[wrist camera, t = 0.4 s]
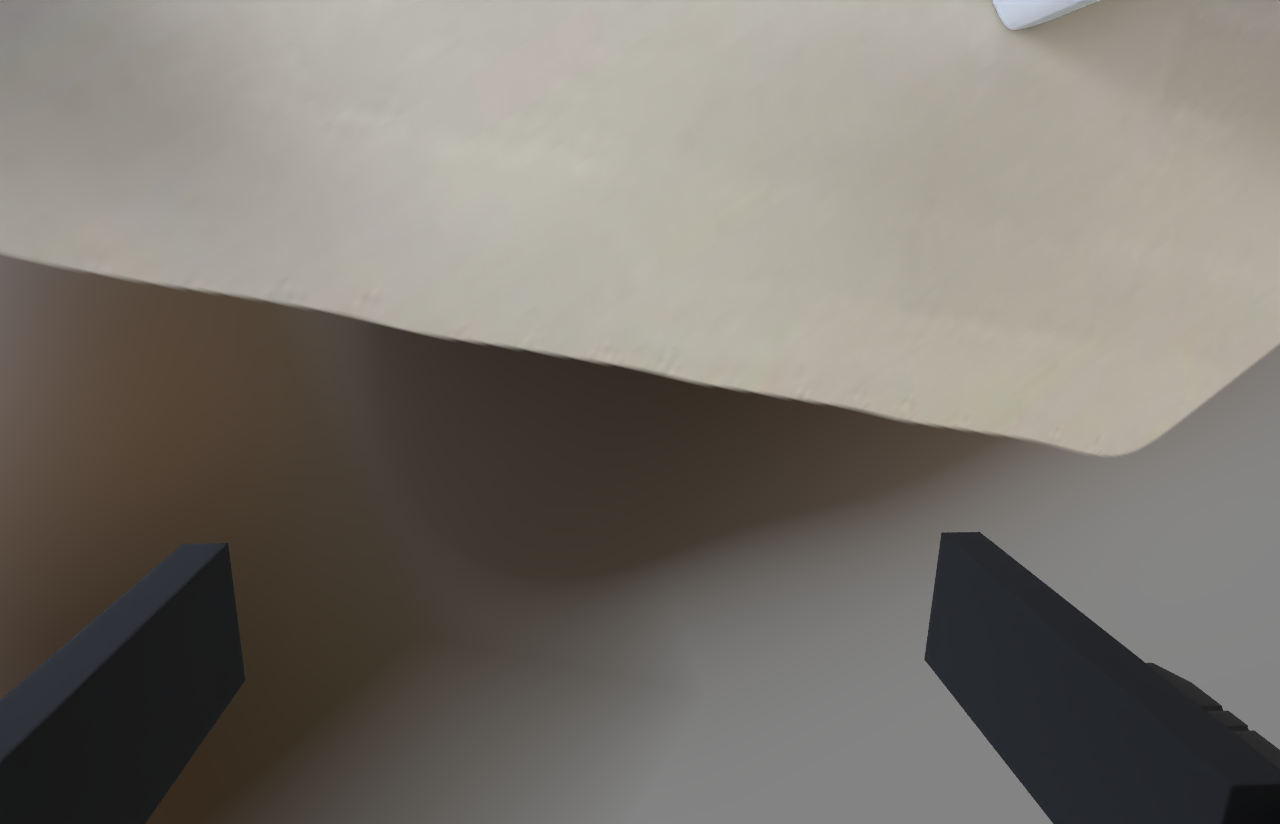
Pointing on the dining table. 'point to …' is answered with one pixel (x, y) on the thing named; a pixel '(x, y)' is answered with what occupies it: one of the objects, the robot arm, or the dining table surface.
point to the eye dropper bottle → (1035, 11)
